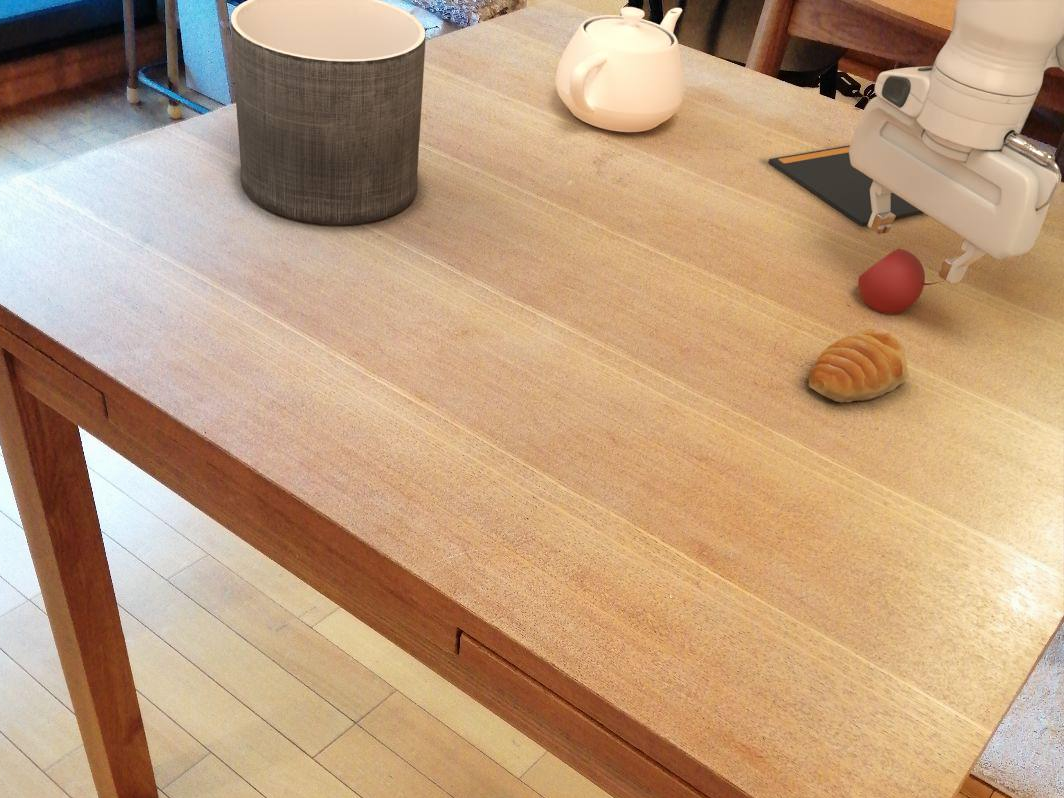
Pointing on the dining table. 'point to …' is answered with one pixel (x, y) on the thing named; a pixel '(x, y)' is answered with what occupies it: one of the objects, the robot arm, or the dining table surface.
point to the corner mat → (838, 183)
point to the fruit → (893, 282)
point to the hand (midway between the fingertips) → (912, 254)
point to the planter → (328, 107)
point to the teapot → (623, 71)
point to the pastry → (860, 367)
